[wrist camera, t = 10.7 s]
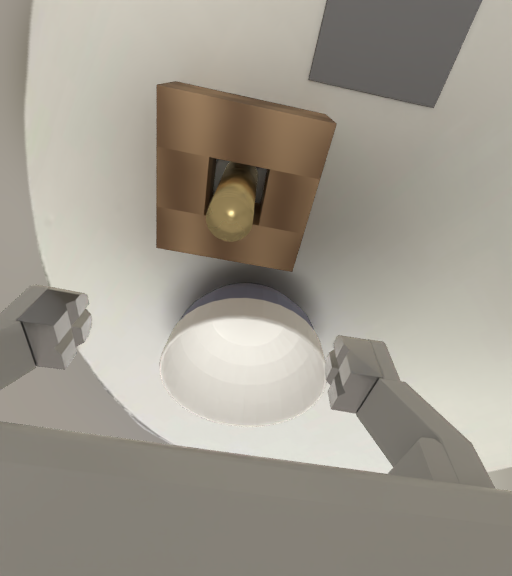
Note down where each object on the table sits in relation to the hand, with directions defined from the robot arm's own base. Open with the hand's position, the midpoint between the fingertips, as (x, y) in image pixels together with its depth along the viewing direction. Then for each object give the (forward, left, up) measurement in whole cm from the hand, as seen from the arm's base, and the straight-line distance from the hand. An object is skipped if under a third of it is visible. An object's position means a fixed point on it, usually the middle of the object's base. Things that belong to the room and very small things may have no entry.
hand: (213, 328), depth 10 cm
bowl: (-3, +17, -21) cm, 28 cm away
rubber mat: (-8, -11, -21) cm, 25 cm away
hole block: (+1, +1, -21) cm, 21 cm away
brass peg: (+1, +1, -21) cm, 21 cm away
